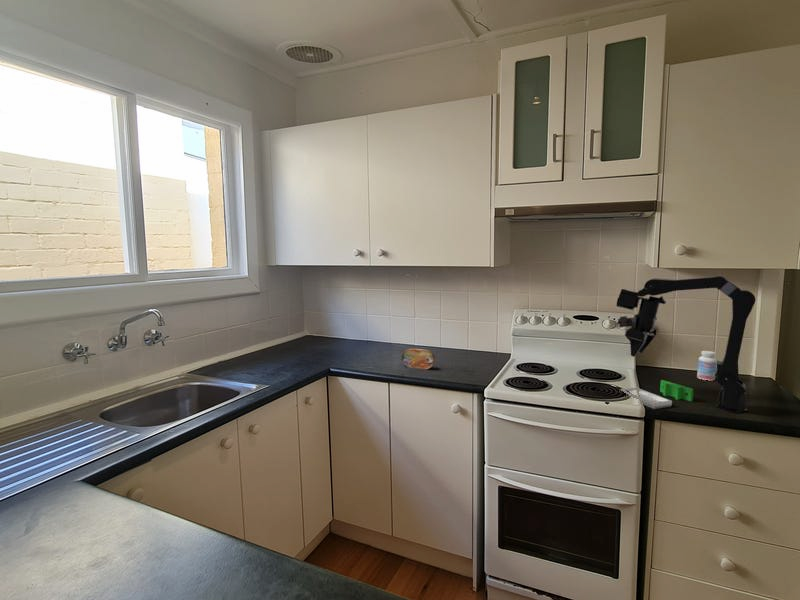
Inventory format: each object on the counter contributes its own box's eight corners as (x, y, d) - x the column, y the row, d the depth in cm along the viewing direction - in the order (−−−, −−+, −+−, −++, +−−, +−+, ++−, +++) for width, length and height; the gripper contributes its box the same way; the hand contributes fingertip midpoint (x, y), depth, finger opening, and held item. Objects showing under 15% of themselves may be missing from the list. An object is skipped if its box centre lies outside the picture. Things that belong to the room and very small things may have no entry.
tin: (401, 366, 195) (401, 347, 194) (404, 364, 198) (404, 346, 197) (433, 370, 188) (433, 351, 187) (435, 369, 191) (436, 350, 190)
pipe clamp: (655, 393, 162) (655, 381, 161) (661, 392, 163) (662, 379, 163) (685, 403, 152) (686, 390, 151) (692, 401, 153) (693, 388, 153)
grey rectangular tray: (671, 406, 148) (671, 400, 148) (654, 409, 145) (654, 403, 145) (635, 392, 162) (636, 387, 161) (619, 394, 159) (620, 389, 159)
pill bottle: (699, 380, 177) (701, 353, 176) (695, 376, 183) (697, 349, 181) (716, 382, 175) (719, 354, 173) (712, 377, 181) (715, 351, 179)
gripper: (631, 305, 169) (622, 344, 173) (615, 309, 156) (605, 351, 159) (663, 313, 162) (653, 353, 165) (649, 317, 149) (637, 361, 152)
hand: (636, 354), depth 161 cm, fingers open, 9 cm apart
